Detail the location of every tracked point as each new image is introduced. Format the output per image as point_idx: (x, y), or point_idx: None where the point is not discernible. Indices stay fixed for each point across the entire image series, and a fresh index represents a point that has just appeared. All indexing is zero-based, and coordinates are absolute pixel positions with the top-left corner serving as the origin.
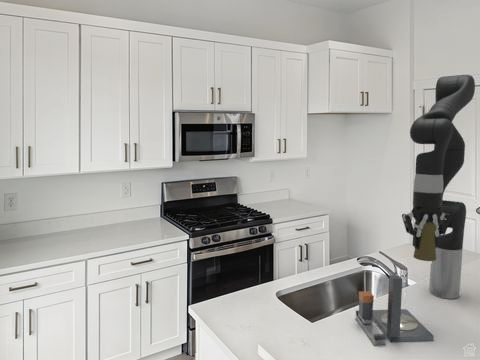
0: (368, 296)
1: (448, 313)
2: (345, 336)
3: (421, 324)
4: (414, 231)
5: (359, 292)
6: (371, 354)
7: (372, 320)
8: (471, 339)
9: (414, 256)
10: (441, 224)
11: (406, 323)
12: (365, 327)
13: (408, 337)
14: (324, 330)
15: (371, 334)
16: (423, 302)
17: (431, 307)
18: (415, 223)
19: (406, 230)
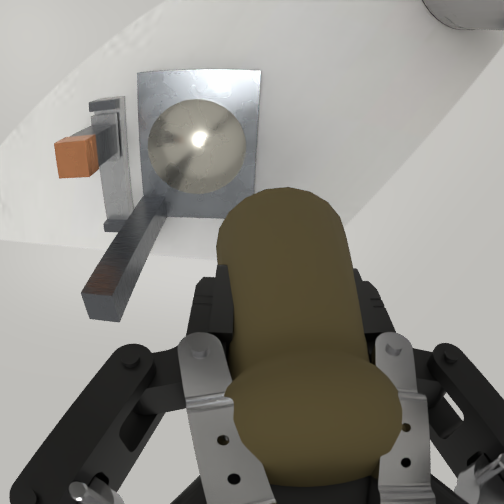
0: (75, 176)
1: (386, 91)
2: (63, 183)
3: (253, 165)
4: (171, 408)
5: (55, 147)
6: (101, 247)
7: (116, 160)
8: (344, 216)
9: (217, 245)
10: (455, 430)
11: (209, 164)
12: (100, 172)
13: (188, 215)
14: (29, 159)
15: (106, 203)
16: (359, 14)
17: (363, 47)
18: (197, 444)
19: (108, 369)
